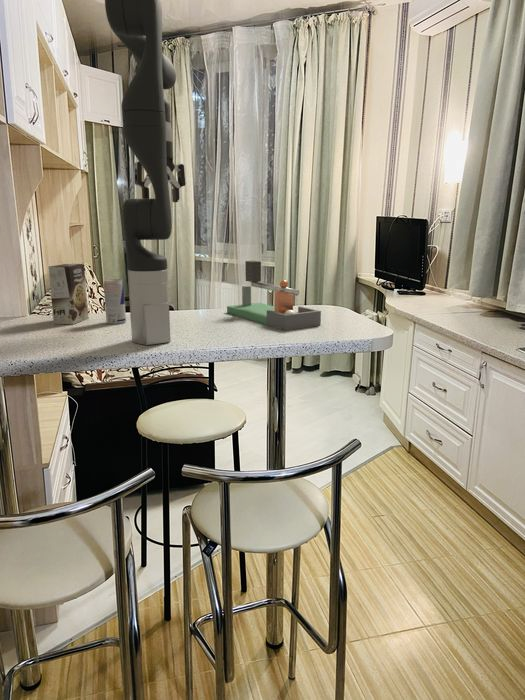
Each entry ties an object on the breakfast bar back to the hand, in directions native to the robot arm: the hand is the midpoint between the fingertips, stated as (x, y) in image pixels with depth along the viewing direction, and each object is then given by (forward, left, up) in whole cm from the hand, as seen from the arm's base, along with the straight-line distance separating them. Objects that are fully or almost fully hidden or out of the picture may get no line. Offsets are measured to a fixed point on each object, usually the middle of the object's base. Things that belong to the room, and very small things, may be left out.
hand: (161, 202), depth 147 cm
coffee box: (+10, +25, -33) cm, 43 cm away
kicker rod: (-19, -25, -31) cm, 44 cm away
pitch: (-19, -25, -33) cm, 45 cm away
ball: (-28, -25, -31) cm, 49 cm away
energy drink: (+1, +15, -33) cm, 37 cm away
